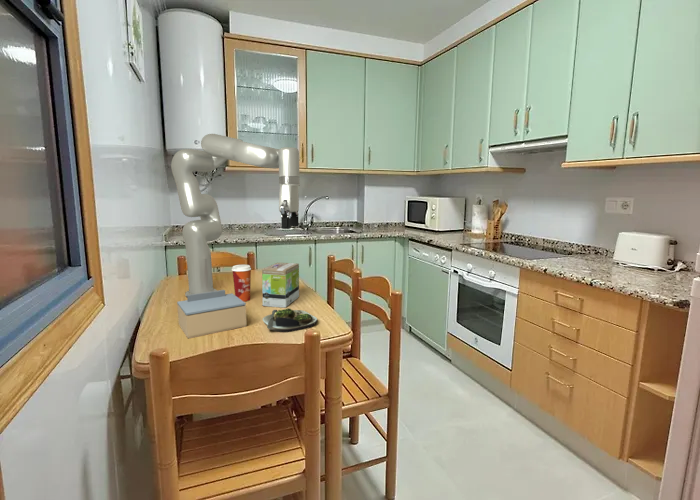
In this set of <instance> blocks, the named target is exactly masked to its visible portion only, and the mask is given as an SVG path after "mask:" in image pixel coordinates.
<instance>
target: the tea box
mask: <svg viewBox="0 0 700 500" xmlns="http://www.w3.org/2000/svg"><path fill="white" fill-rule="evenodd" d="M261 273H262V276H261V279H262V280H261V281H262V283H261V285H262V288H261V289H262V292H261V293H262V306H263V307H269V308H285V309H287V308H288V306H290V304H291V303H293V302H294V301H296V300H298V299H299V298H298V297H300V264H299V263H294V262H293V263H292V262H276V263H275V262H274V264H271V265H269V266H266V267H264V268H262V269H261Z"/></svg>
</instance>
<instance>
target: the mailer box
mask: <svg viewBox="0 0 700 500" xmlns="http://www.w3.org/2000/svg"><path fill="white" fill-rule="evenodd" d="M176 305H177V320H178V326H179V325H180V326H179V327H180V329H181V330H182V332H183V333H184V335H185V337H186V338H187V339H192V338H197V337H203V336H206V335H212V334H217V333H222V332H226V331H231V330H236V329H240V328H246V327H248V326H247V306H246V305H242V306H236V307H231V308H225V309H219V310H213V311H208V312H202V313H196V314H190V315H186V314H185V313H184V312H183V310H182V309H181V308H180V306H179V305H178V304H177V303H176Z"/></svg>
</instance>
